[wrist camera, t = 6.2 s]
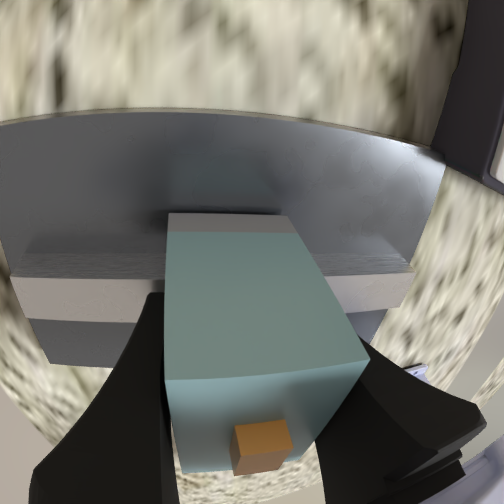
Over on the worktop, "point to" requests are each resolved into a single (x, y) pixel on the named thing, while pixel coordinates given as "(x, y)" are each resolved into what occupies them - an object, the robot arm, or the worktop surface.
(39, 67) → the worktop surface
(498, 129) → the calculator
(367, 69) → the worktop surface
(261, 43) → the worktop surface
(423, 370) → the robot arm
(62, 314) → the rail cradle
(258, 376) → the block
